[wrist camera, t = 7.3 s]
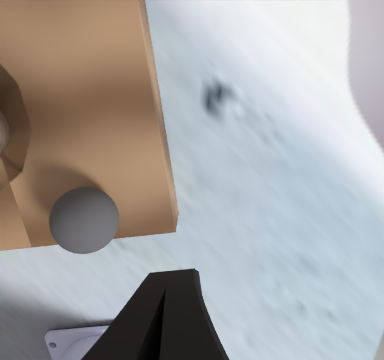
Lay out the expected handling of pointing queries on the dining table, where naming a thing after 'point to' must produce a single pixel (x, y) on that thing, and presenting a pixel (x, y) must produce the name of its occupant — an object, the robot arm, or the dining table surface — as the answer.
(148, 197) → the brown wooden hole board
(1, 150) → the steel ball
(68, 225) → the gray ball
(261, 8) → the dining table surface
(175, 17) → the dining table surface
